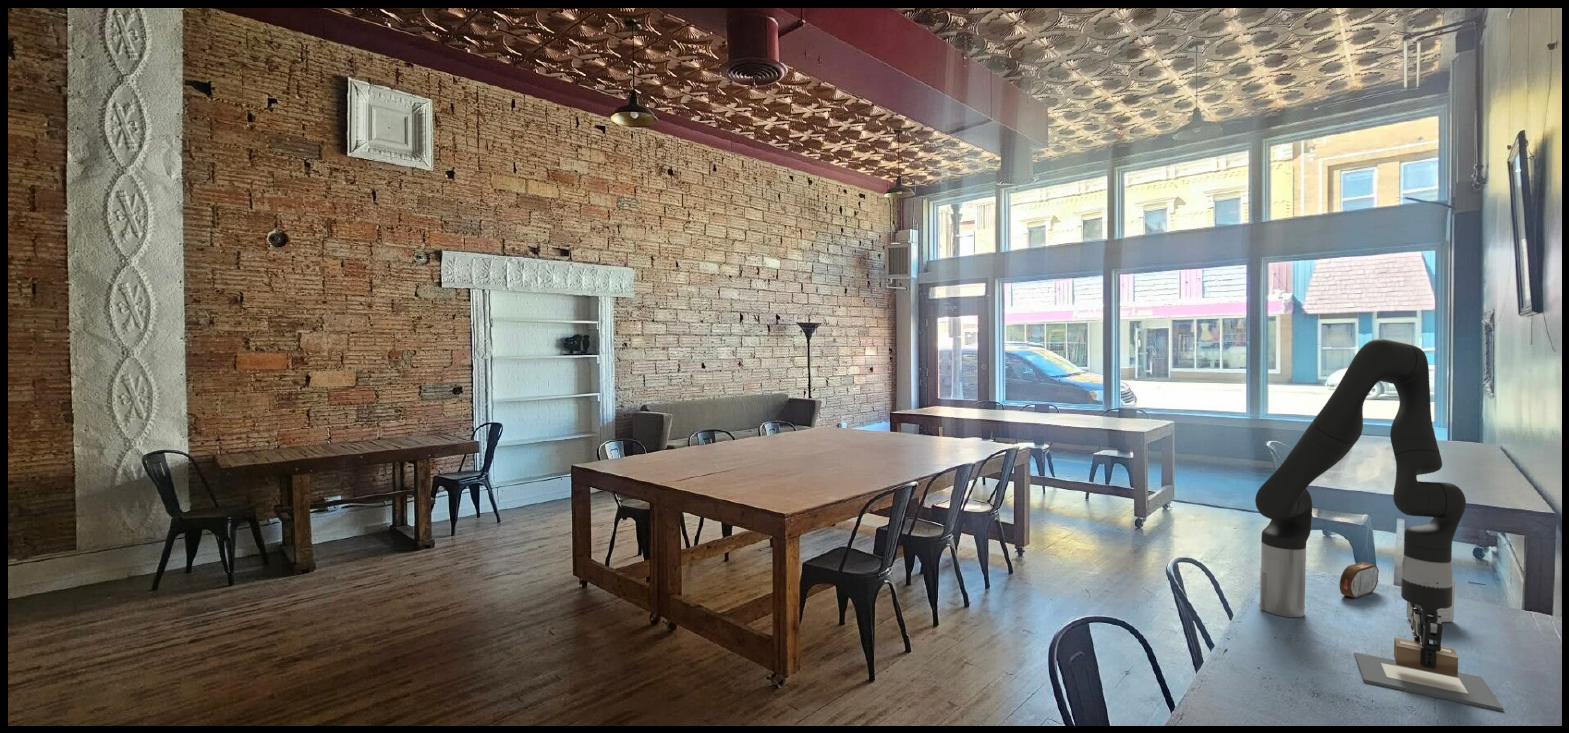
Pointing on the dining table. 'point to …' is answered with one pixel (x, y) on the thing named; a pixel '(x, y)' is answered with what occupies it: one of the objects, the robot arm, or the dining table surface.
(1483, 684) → the mat
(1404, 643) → the card box
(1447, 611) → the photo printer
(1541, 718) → the dining table surface
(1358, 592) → the tin
